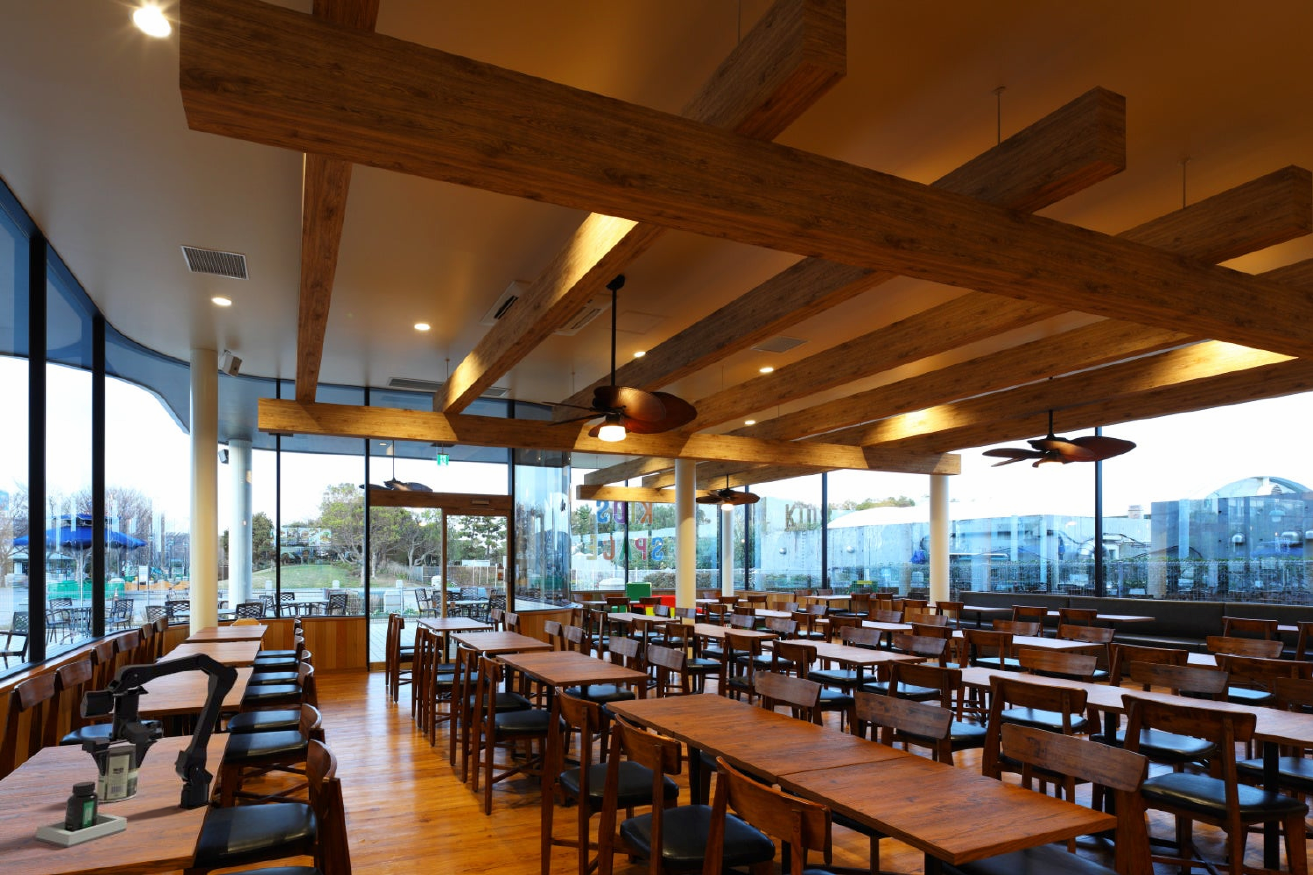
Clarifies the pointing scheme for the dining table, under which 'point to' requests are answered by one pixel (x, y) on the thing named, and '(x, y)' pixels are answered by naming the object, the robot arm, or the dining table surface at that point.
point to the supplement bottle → (81, 807)
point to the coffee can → (118, 775)
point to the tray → (81, 831)
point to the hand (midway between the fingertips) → (120, 771)
